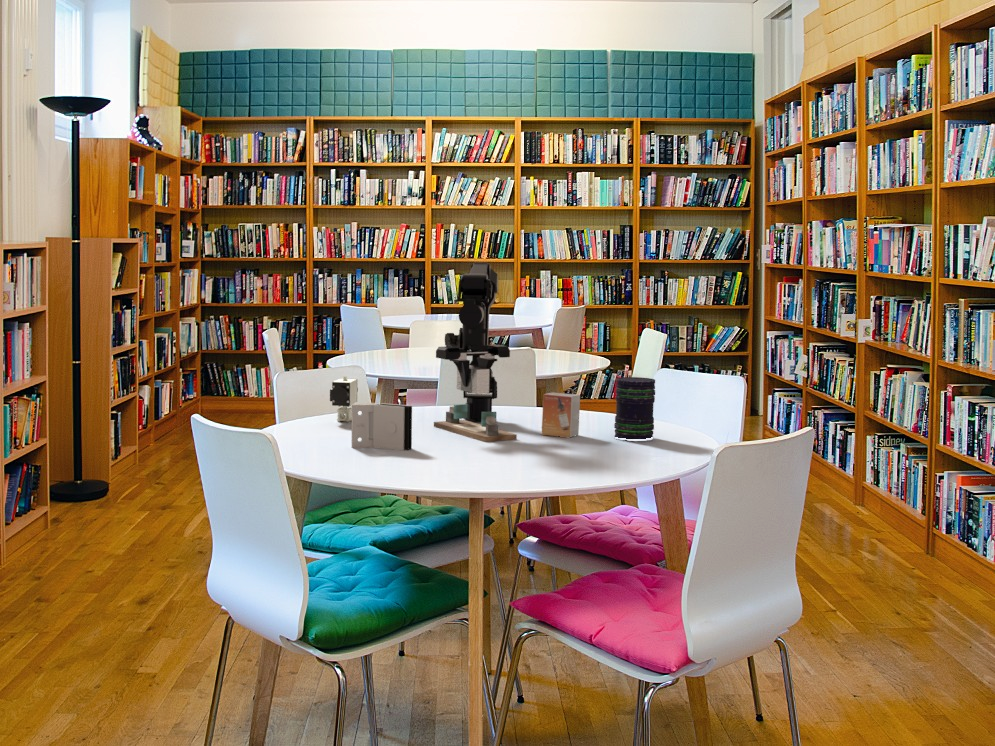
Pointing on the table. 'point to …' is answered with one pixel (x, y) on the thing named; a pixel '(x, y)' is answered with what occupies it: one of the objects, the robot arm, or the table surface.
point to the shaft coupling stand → (473, 425)
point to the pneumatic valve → (344, 397)
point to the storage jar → (634, 407)
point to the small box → (560, 414)
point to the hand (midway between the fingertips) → (472, 386)
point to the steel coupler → (475, 380)
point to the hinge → (382, 426)
